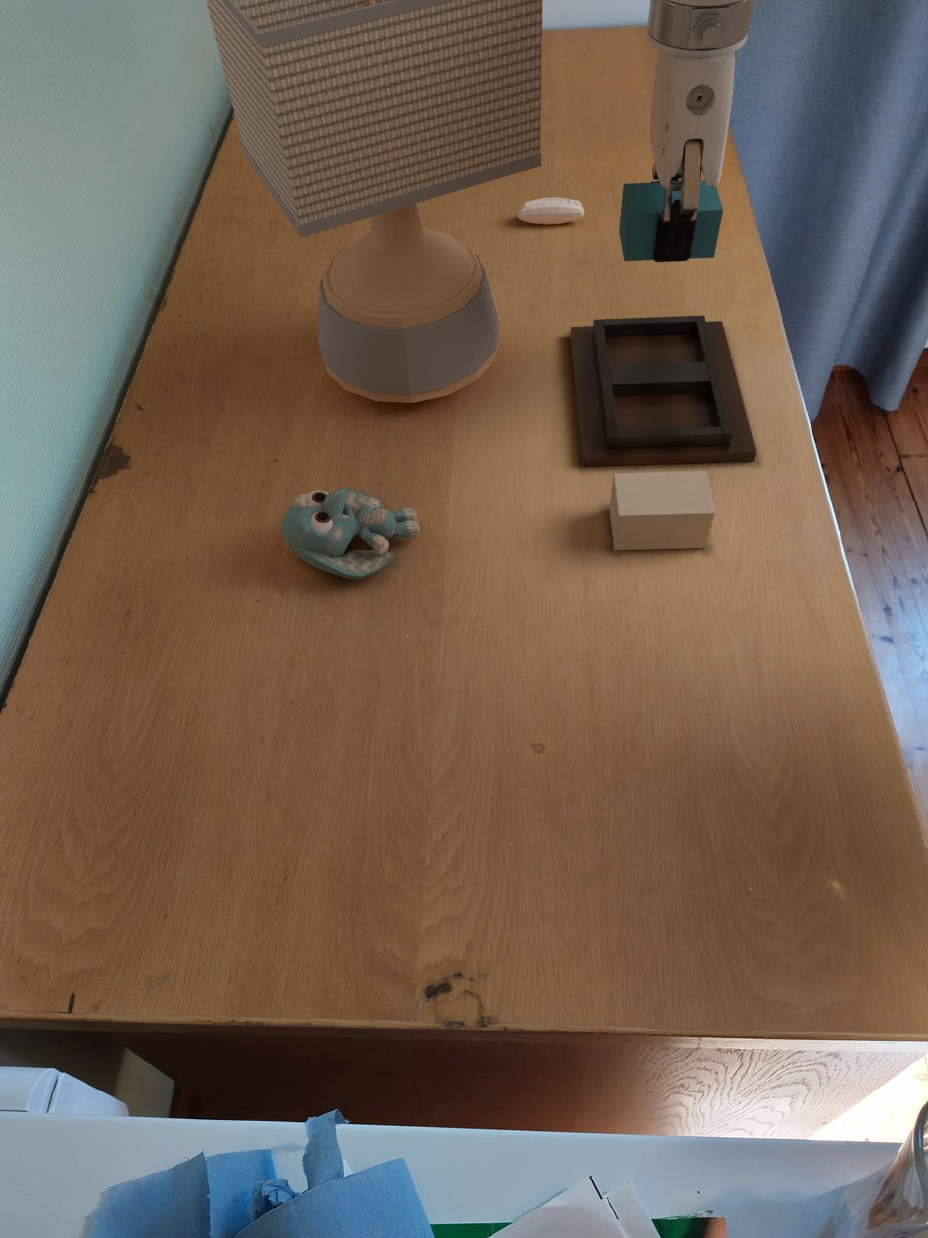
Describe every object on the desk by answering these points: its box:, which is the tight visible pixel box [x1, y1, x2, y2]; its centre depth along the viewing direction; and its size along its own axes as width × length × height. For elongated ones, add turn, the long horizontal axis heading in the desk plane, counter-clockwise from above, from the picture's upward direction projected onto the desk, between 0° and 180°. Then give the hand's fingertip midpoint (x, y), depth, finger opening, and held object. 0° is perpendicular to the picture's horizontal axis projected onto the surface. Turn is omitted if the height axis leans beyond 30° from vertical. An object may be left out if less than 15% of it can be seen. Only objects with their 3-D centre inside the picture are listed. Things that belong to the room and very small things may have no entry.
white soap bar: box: [517, 196, 585, 226], centre depth 108 cm, size 3×8×3 cm, turn 88°
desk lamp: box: [205, 0, 543, 404], centre depth 80 cm, size 22×19×37 cm
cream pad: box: [608, 470, 716, 551], centre depth 77 cm, size 8×5×4 cm, turn 89°
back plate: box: [569, 315, 757, 467], centre depth 89 cm, size 16×20×3 cm
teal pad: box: [618, 179, 724, 262], centre depth 79 cm, size 8×5×4 cm, turn 90°
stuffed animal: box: [280, 488, 421, 581], centre depth 77 cm, size 11×7×12 cm
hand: (667, 239), depth 81 cm, fingers closed on teal pad, 5 cm apart
